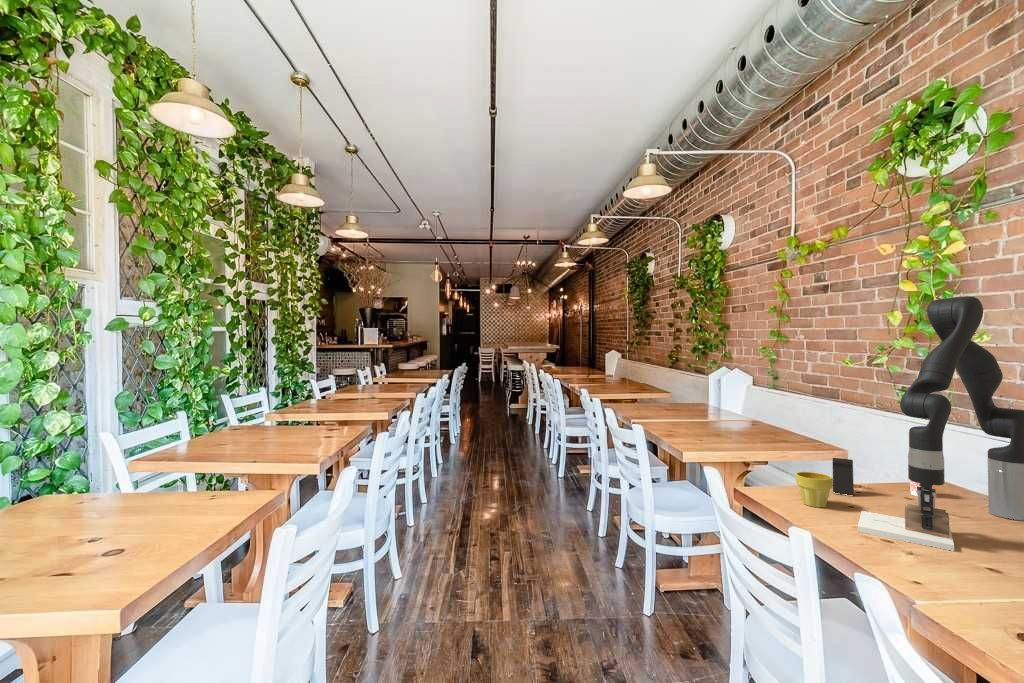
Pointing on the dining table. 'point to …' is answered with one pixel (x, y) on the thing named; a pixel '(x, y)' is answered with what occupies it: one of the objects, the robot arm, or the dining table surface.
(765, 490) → the dining table surface
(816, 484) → the plant pot
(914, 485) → the beverage cup
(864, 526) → the board
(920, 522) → the block
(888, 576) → the dining table surface
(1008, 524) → the dining table surface
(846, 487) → the phone stand
